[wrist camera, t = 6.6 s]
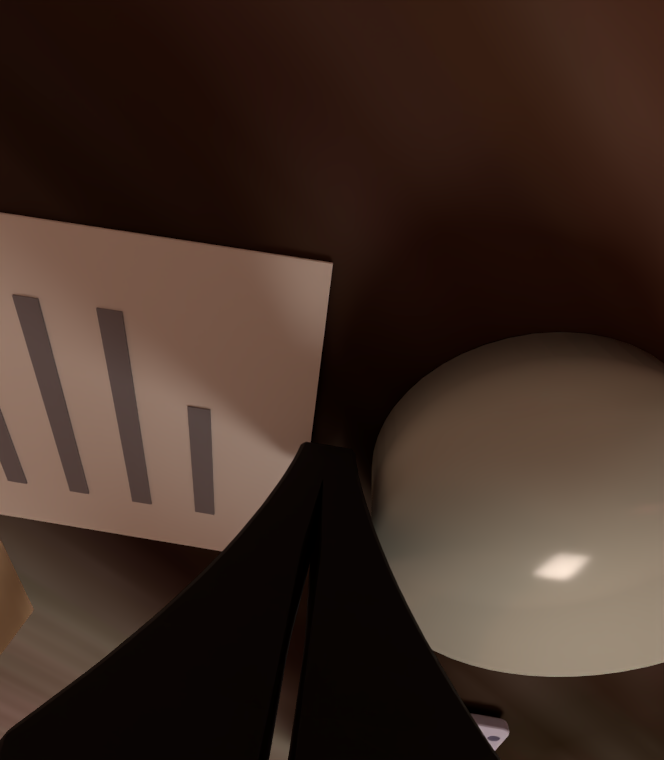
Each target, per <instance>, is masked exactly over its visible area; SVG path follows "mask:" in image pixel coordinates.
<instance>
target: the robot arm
mask: <svg viewBox="0 0 664 760" xmlns="http://www.w3.org/2000/svg"><path fill="white" fill-rule="evenodd" d="M309 564H310V572H309V586H308V600H307V615H306V629H305V642H304V652H303V661H302V668H301V675H300V682H299V689H298V695H297V702H296V709H295V716H294V723H293V729H292V736H291V743H290V750H289V756H288V760H500V758H499V757H498V755H497V754H496V752H495V750H496V749H497V748H498V747H499V745H500V744H501V743H502V742H503V741H504V740H505V739H506V737H507V736H508V735H509V728H508V724H507V722H506V721H505V720H503V719H501V718H496V717H490V716H485V715H479V714H473V713H470V712H469V711H468V709H467V708H466V706H465V705H464V703H463V701H462V700H461V698H460V697H459V695H458V693H457V692H456V690H455V688H454V686H453V685H452V683H451V681H450V680H449V678H448V676H447V675H446V673H445V671H444V669H443V668H442V666H441V664H440V663H439V661H438V659H437V657H436V656H435V654H434V652H433V651H432V649H431V647H430V646H429V644H428V642H427V640H426V639H425V637H424V635H423V633H422V631H421V629H420V627H419V625H418V624H417V622H416V620H415V618H414V616H413V614H412V612H411V610H410V608H409V606H408V604H407V602H406V600H405V598H404V596H403V594H402V592H401V590H400V588H399V586H398V584H397V581H396V579H395V577H394V575H393V573H392V570H391V568H390V566H389V563H388V561H387V559H386V556H385V554H384V551H383V549H382V546H381V544H380V542H379V539H378V536H377V534H376V531H375V528H374V525H373V522H372V519H371V516H370V513H369V510H368V507H367V504H366V501H365V498H364V495H363V491H362V487H361V483H360V479H359V475H358V470H357V465H356V457H355V453H354V451H353V450H352V449H348V448H342V447H336V446H330V445H323V444H317V443H311V442H304V443H302V444H301V445H300V447H299V449H298V451H297V453H296V455H295V457H294V459H293V461H292V462H291V464H290V466H289V467H288V469H287V470H286V472H285V473H284V475H283V476H282V478H281V479H280V481H279V482H278V484H277V485H276V486H275V488H274V489H273V491H272V492H271V493H270V495H269V496H268V497H267V499H266V500H265V502H264V503H263V504H262V505H261V507H260V508H259V509H258V510H257V512H256V513H255V514H254V515H253V516H252V518H251V519H250V520H249V521H248V522H247V524H246V525H245V526H244V527H243V528H242V530H241V531H240V532H239V533H238V534H237V535H236V537H235V538H234V539H233V540H232V541H231V542H230V543H229V544H228V545H227V547H226V548H225V549H224V550H223V551H222V552H221V553H220V554H219V555H218V556H217V557H216V558H215V559H214V560H213V561H212V562H211V563H210V564H209V565H208V566H207V567H206V568H205V569H204V570H203V571H202V572H201V573H200V574H199V575H198V576H197V577H196V578H195V579H194V580H193V581H192V582H191V583H190V584H189V585H188V586H187V587H186V588H185V589H184V590H183V591H181V592H180V593H179V594H178V595H177V596H176V597H175V598H174V599H173V600H172V601H171V602H170V603H168V604H167V605H166V606H165V607H164V608H163V609H162V610H161V611H160V612H158V613H157V614H156V615H155V616H154V617H153V618H151V619H150V620H149V621H148V622H147V623H145V624H144V625H143V626H142V627H141V628H139V629H138V630H137V631H136V632H135V633H133V634H132V635H131V636H130V637H129V638H127V639H126V640H125V641H124V642H123V643H121V644H120V645H119V646H118V647H117V648H115V649H114V650H113V651H112V652H111V653H109V654H108V655H107V656H106V657H105V658H103V659H102V660H101V661H100V662H98V663H97V664H96V665H94V666H93V667H92V668H91V669H89V670H88V671H87V672H85V673H84V674H83V675H81V676H80V677H79V678H77V679H76V680H75V681H73V682H72V683H71V684H69V685H68V686H67V687H65V688H64V689H63V690H61V691H60V692H59V693H57V694H56V695H55V696H53V697H52V698H51V699H49V700H48V701H47V702H45V703H44V704H43V705H41V706H40V707H39V708H37V709H36V710H35V711H33V712H32V713H31V714H29V715H28V716H27V717H25V718H24V719H22V720H21V721H20V722H18V723H17V724H16V725H14V726H13V727H12V728H11V729H10V730H8V731H7V732H6V734H5V735H4V736H3V737H2V738H1V740H0V760H269V756H270V750H271V745H272V739H273V733H274V727H275V721H276V715H277V710H278V704H279V698H280V692H281V686H282V681H283V675H284V669H285V663H286V658H287V653H288V649H289V644H290V639H291V635H292V631H293V627H294V623H295V619H296V615H297V611H298V607H299V603H300V599H301V595H302V591H303V588H304V584H305V580H306V576H307V572H308V568H309Z"/></svg>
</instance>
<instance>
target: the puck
mask: <svg viewBox="0 0 664 760" xmlns="http://www.w3.org/2000/svg"><path fill="white" fill-rule="evenodd" d="M371 519H372V522H373V525H374V528H375V531H376V534H377V536H378V539H379V542H380V544H381V546H382V549H383V551H384V554H385V556H386V559H387V561H388V563H389V566H390V568H391V570H392V573H393V575H394V577H395V579H396V581H397V584H398V586H399V588H400V590H401V592H402V594H403V596H404V598H405V600H406V602H407V604H408V606H409V608H410V610H411V612H412V614H413V616H414V618H415V620H416V622H417V624H418V625H419V627H420V629H421V631H422V633H423V635H424V637H425V639H426V640H427V642H428V644H429V646H430V647H431V649H432V650H434V651H436V652H438V653H440V654H443V655H445V656H447V657H449V658H452V659H455V660H458V661H461V662H464V663H466V664H469V665H473V666H477V667H481V668H485V669H489V670H494V671H500V672H505V673H512V674H521V675H530V676H549V677H566V676H588V675H600V674H608V673H615V672H623V671H628V670H633V669H638V668H643V667H648V666H652V665H655V664H659V663H663V662H664V363H663V362H661V361H660V360H658V359H657V358H656V357H654V356H653V355H651V354H649V353H647V352H645V351H643V350H641V349H639V348H637V347H635V346H633V345H631V344H628V343H625V342H622V341H618V340H615V339H612V338H609V337H603V336H598V335H592V334H587V333H571V332H551V333H534V334H529V335H523V336H517V337H511V338H507V339H503V340H500V341H496V342H493V343H489V344H486V345H483V346H480V347H478V348H476V349H473V350H471V351H468V352H466V353H463V354H461V355H459V356H457V357H455V358H454V359H452V360H450V361H448V362H446V363H444V364H442V365H441V366H439V367H438V368H436V369H435V370H433V371H432V372H431V373H429V374H428V375H426V376H425V377H423V378H422V379H421V380H420V381H419V382H418V383H417V384H415V385H414V386H413V387H412V388H411V389H410V390H409V391H408V392H407V393H406V394H405V395H404V396H403V397H402V398H401V399H400V401H399V402H398V403H397V404H396V405H395V406H394V408H393V409H392V411H391V412H390V414H389V416H388V417H387V419H386V420H385V422H384V424H383V426H382V428H381V430H380V433H379V435H378V437H377V440H376V444H375V448H374V451H373V460H372V512H371Z"/></svg>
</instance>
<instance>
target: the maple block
mask: <svg viewBox="0 0 664 760" xmlns="http://www.w3.org/2000/svg"><path fill="white" fill-rule="evenodd" d="M33 610H34V609H33V607H32V604H31V602H30V600H29V598H28V596H27V594H26V592H25V590H24V588H23V586H22V584H21V581H20V579H19V577H18V575H17V573H16V571H15V569H14V567H13V565H12V563H11V561H10V558H9V556H8V554H7V552H6V550H5V548H4V546H3V544H2V542H1V540H0V655H1V654H2V652H3V651H4V650H5V648H6V647H7V645H8V644H9V643H10V641H11V640H12V639H13V637H14V636H15V635H16V633H17V632H18V631H19V629H20V628H21V627H22V625H23V624H24V623H25V621H26V620H27V619H28V617H29V616H30V614H31V613H32V612H33Z"/></svg>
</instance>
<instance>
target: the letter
mask: <svg viewBox="0 0 664 760" xmlns="http://www.w3.org/2000/svg"><path fill="white" fill-rule="evenodd" d="M332 268H333V263H332V262H326V261H319V260H312V259H306V258H299V257H293V256H286V255H279V254H273V253H266V252H259V251H253V250H246V249H240V248H233V247H226V246H220V245H213V244H207V243H200V242H193V241H187V240H180V239H174V238H167V237H160V236H154V235H147V234H141V233H134V232H127V231H121V230H114V229H108V228H101V227H94V226H88V225H81V224H74V223H68V222H61V221H55V220H48V219H41V218H35V217H28V216H22V215H15V214H8V213H2V212H0V514H1V515H7V516H13V517H19V518H25V519H31V520H37V521H43V522H49V523H55V524H61V525H67V526H73V527H79V528H85V529H91V530H97V531H103V532H109V533H115V534H121V535H127V536H133V537H139V538H145V539H151V540H157V541H163V542H169V543H175V544H181V545H187V546H193V547H199V548H205V549H211V550H217V551H223V550H224V549H225V548H226V547H227V545H228V544H229V543H230V542H231V541H232V540H233V539H234V538H235V537H236V535H237V534H238V533H239V532H240V531H241V530H242V528H243V527H244V526H245V525H246V524H247V522H248V521H249V520H250V519H251V518H252V516H253V515H254V514H255V513H256V512H257V510H258V509H259V508H260V507H261V505H262V504H263V503H264V502H265V500H266V499H267V497H268V496H269V495H270V493H271V492H272V491H273V489H274V488H275V486H276V485H277V484H278V482H279V481H280V479H281V478H282V476H283V475H284V473H285V472H286V470H287V469H288V467H289V466H290V464H291V462H292V461H293V459H294V457H295V455H296V453H297V451H298V449H299V447H300V445H301V444H302V443H304V442H311V436H312V428H313V420H314V412H315V404H316V396H317V388H318V380H319V372H320V364H321V356H322V348H323V340H324V332H325V324H326V316H327V308H328V300H329V292H330V284H331V276H332Z"/></svg>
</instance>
